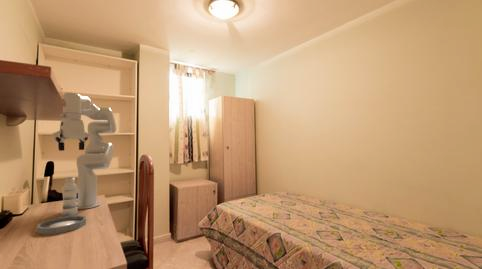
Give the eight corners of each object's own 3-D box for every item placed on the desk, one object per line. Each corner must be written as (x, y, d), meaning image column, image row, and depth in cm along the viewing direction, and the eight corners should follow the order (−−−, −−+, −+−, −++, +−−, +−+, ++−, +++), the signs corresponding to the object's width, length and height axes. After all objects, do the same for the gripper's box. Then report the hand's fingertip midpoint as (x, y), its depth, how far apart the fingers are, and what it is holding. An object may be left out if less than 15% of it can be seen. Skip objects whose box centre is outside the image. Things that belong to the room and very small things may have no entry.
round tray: (28, 231, 98) (28, 225, 98) (71, 219, 113) (71, 214, 114) (51, 236, 91) (51, 230, 91) (94, 223, 106) (94, 217, 107)
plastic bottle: (78, 217, 116) (79, 177, 117) (61, 220, 112) (62, 179, 113) (76, 214, 121) (77, 176, 122) (60, 217, 117) (61, 177, 118)
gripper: (58, 115, 109) (57, 151, 108) (93, 118, 125) (93, 149, 124) (48, 115, 112) (48, 150, 111) (84, 118, 128) (84, 149, 127)
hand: (71, 150), depth 118 cm, fingers open, 9 cm apart
